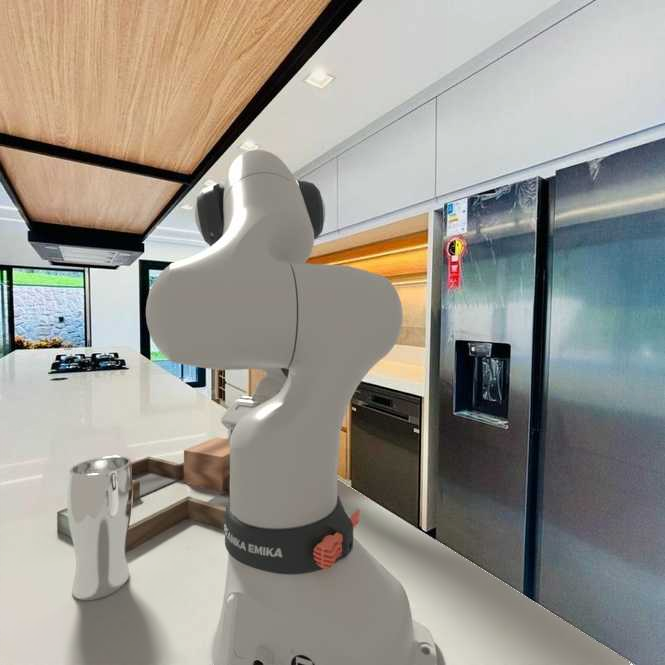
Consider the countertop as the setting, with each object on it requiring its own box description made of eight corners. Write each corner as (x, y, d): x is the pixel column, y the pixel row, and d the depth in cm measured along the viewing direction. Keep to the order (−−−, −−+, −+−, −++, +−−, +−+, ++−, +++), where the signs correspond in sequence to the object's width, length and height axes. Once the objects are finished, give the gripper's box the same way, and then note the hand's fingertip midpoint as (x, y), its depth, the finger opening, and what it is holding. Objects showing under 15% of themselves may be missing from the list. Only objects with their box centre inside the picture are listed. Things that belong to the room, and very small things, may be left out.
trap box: (301, 484, 76) (301, 469, 76) (164, 580, 47) (164, 556, 47) (183, 456, 92) (183, 444, 92) (25, 515, 63) (25, 498, 63)
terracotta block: (252, 473, 82) (252, 442, 82) (222, 492, 73) (222, 456, 73) (216, 467, 86) (216, 437, 86) (183, 483, 77) (183, 450, 77)
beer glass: (131, 559, 51) (130, 452, 51) (135, 589, 45) (135, 468, 45) (69, 577, 47) (69, 461, 47) (65, 612, 42) (65, 480, 41)
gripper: (232, 388, 98) (204, 434, 89) (297, 395, 88) (273, 447, 80) (244, 402, 102) (217, 448, 93) (307, 410, 92) (285, 461, 84)
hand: (244, 447), depth 86 cm, fingers open, 8 cm apart
